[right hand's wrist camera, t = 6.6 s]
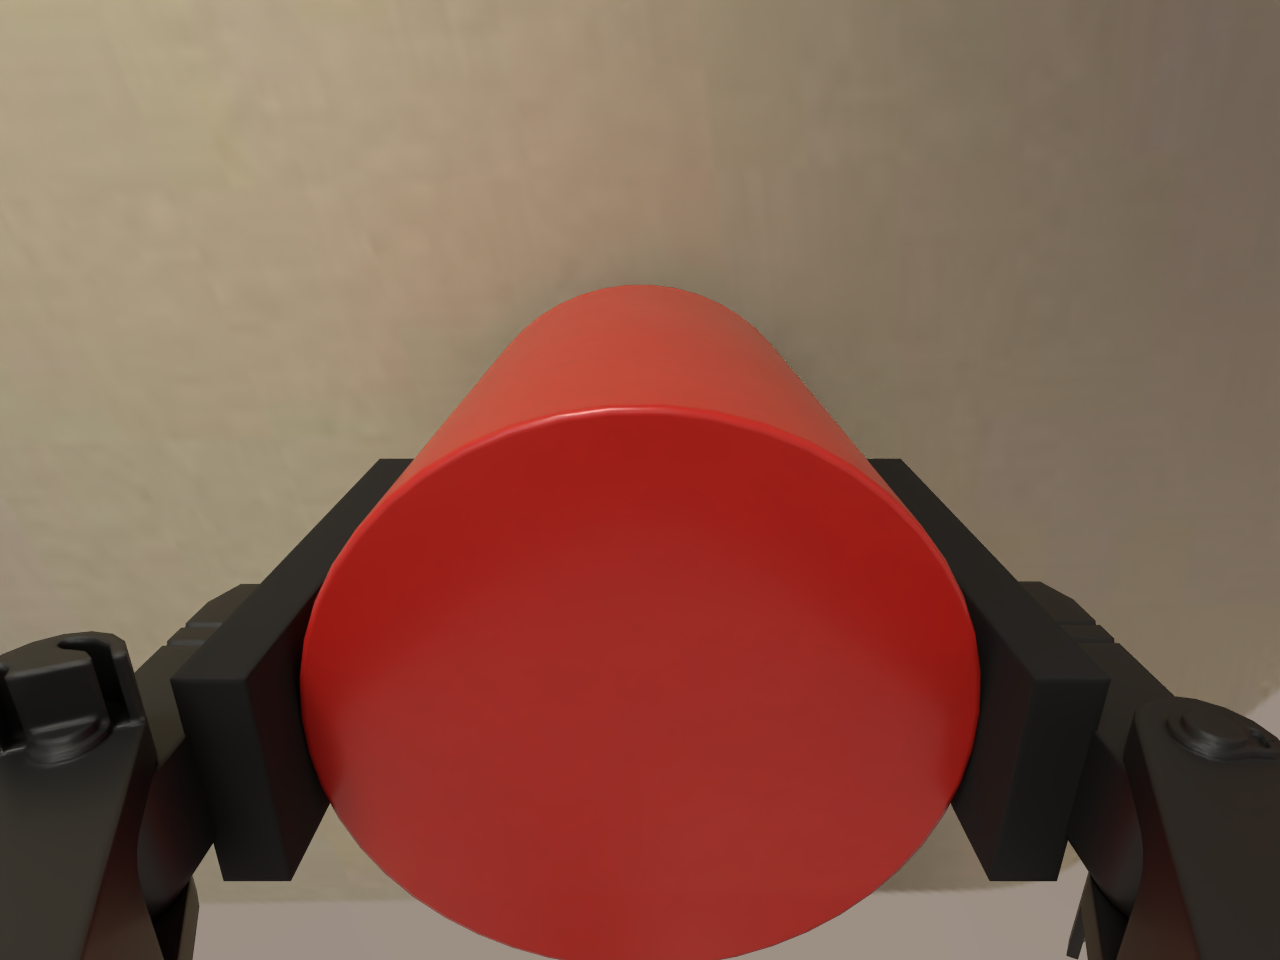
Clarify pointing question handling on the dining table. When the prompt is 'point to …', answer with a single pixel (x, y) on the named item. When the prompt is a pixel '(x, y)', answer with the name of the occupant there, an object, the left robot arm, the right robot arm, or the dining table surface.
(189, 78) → the dining table surface
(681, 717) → the cylinder
